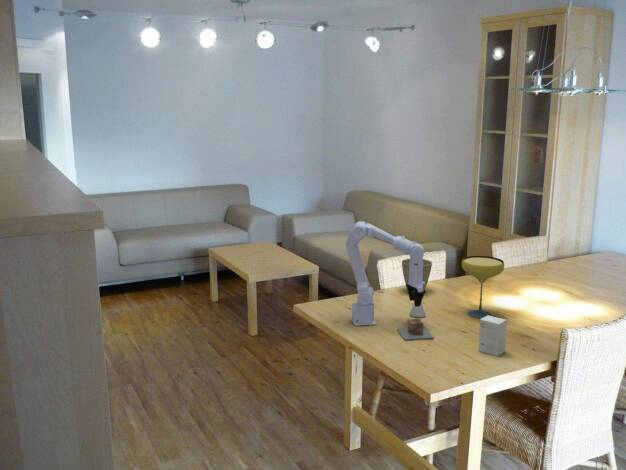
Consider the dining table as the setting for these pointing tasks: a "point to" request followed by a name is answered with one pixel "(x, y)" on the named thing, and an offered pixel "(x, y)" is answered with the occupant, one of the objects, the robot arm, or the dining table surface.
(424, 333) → the coaster
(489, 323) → the small box
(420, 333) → the walnut cube
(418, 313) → the flask
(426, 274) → the plant pot
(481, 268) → the cocktail glass
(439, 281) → the dining table surface
